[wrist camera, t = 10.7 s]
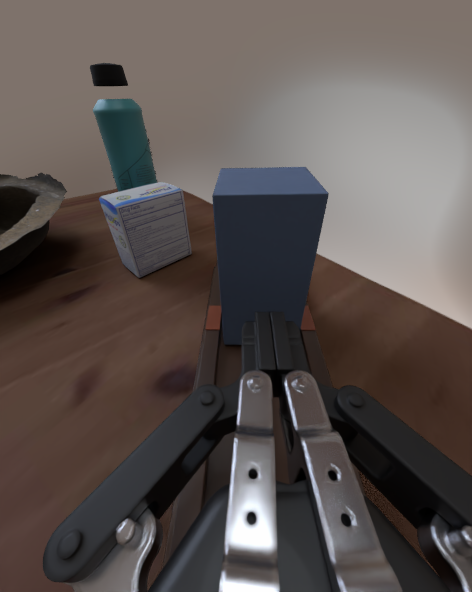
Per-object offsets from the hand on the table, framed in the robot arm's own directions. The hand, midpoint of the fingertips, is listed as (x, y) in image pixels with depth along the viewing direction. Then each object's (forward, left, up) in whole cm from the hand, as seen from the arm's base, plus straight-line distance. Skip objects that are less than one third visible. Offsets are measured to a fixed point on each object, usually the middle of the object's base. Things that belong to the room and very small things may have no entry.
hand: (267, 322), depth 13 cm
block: (0, +7, -6) cm, 9 cm away
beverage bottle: (-18, +32, -7) cm, 38 cm away
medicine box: (-12, +18, -7) cm, 23 cm away
